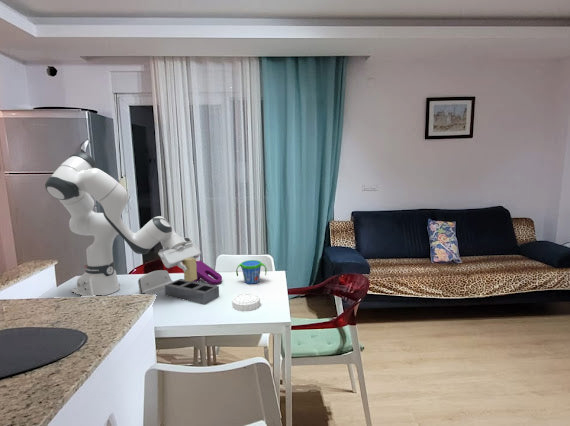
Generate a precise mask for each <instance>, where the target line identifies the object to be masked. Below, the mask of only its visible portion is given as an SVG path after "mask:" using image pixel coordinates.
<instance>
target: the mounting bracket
mask: <svg viewBox="0 0 570 426" xmlns="http://www.w3.org/2000/svg"><path fill="white" fill-rule="evenodd" d="M196 265H197V266H196V269H197V279H196V280H194V281H195V282H200V280H202V281H204V282H205V284H210V285H215V286H219V284H221V283H222V280H223V277H222V275H221V274H220V273H219V272H218V271H216V270H215V269H213V268H212V267H210V266H209V264H208V265H207V263H205V262H204V261H203V260H196Z"/></svg>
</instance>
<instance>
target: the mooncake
mask: <svg viewBox="0 0 570 426" xmlns="http://www.w3.org/2000/svg"><path fill="white" fill-rule="evenodd" d="M231 300H232V301H231V305H232V309H233V310H235V311H239V312H250V311H254V310H257V309H258V308H259V307H260V305H261V299H260V296H258V294H257V295H256V294H254V293H245V294H244V293H243V294H238V295H236V296H235V297H233V298H232V299H231Z"/></svg>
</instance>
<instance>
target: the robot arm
mask: <svg viewBox="0 0 570 426" xmlns="http://www.w3.org/2000/svg"><path fill="white" fill-rule="evenodd" d="M97 167H98V165H97V163H96V161H95V159H94V158H93V157H92V156H91V155H89V154H88V153H85V152H82V151H77V152H75V153H73V154H71V155H70V156H69V157H68V158H67V159H66V160H64V161H63V162H62V163H61V164H60V165H58V168H57V169H55V171H54V172H53V173H52V175H51V176H49V177H48V179H46V181H45V184H44V187H45V190H46V192H47V193H48V194H49V195H50V196H51V197H53V198H55V199H58V200H59V202H60V203H61V205H62V206H64V208H65V209H66V211H67V212H68V213H69V214H70V216H71V217H70V219H69V221H68V222H69V223H68V226H69V229H70V232H72V233H73V234H76V235H81V236H89V237H90V236H91V237H92V236H93V238H94V239H93V243H92V244H90V245H88V247H87V248H86V250H85V252H86V254H85V255H86V260H87V261H86V262H87V264H86V265H84V266H83V268H84V269H85V270H84V271H85V272H84V273H83V274H82V275H80V277H78V278H77V280H76V287H74V288H73V289H71V293H72V292H74V293H73V294H75V293H77V294H80V295H83V296H93V295H102V296H107V295H110V294H114V293H116V292H117V291H119V290H120V285H121V284H120V282H119V281H118V275H117V271H116V270H115V268H116V264H115V261H114V256H113V245H114V241H115V239H116V238H117V236H118V235H119V237H121V238H122V239H123V240H124V241H125V242H126V244H127V245H128V247H130V249H131V250H132V251H133V252H134V253H135V254H137V255H146V254H148V253H149V251H151V250H152V249H153V247H155V246H156V245H157V244H158V243H161V246H162V249H159V251H158V252H157V254H158V256H159V257H160V260H161V262H162V264H163V265H164V267H165V268H167V269H170V268H173V267H176V266H177V267H178V268H180V269H182V271H183V273H184V272H185V271H187V270H188V267H187V266H184V265H183V260H184V259H186V258H189V257H192V258H196V259H199V257H200V256H201V254H202V253H201V252H202V251H201V249H199V247H198V246H197V245H196V244H195V243H194V242H192V241H193V239H191V237H184V236H180V235H179V234H178V233H177V232H176V231H175V229H174V227H173V226H172V225H171V224H170V222H169V221H168V220H167V219H166V218H165V217H163V216H161V215H159V216H155V217H152V218H151V219H150V220H149V221H148V222H147V223H146V224H144V225H143V227H141V228H140V229H139V230H137V231H136V232H133V231H132V230H131V228H130V227H129V226H128V225H127V224H126V223H125V222H124V221H123V218H122V215H123V213H124V211H125V208H126V206H127V203H128V202H129V201H128V199H129V194H128V191H127V190H126V188H125V187H124V186H123V185H122V184H120V182H118V181H117V180H116V179H115V178H114V177H112V176H111V175H110V174H108V173H106V172H104V171H103V169H102V170H101V169H99V168H97ZM95 201H96V202H98V203H99V204H100V205H101V207H102V208H103V212H95V211H94V210H93V209H94V207H95ZM196 266H197V265H196ZM77 294H76V295H77ZM80 295H79V296H80ZM83 296H82V297H83Z"/></svg>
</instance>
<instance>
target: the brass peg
mask: <svg viewBox="0 0 570 426" xmlns="http://www.w3.org/2000/svg"><path fill="white" fill-rule="evenodd" d="M196 262H197V258H192V257H189V258H186V259H184V260H183V263H182V264H183V265H184V266H187V267H188V270H187V271H185V272H184V271H183V277H184V278H183V279H184V280H185V281H190V282H191V281H194V280H196V279H197V269H196Z"/></svg>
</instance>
